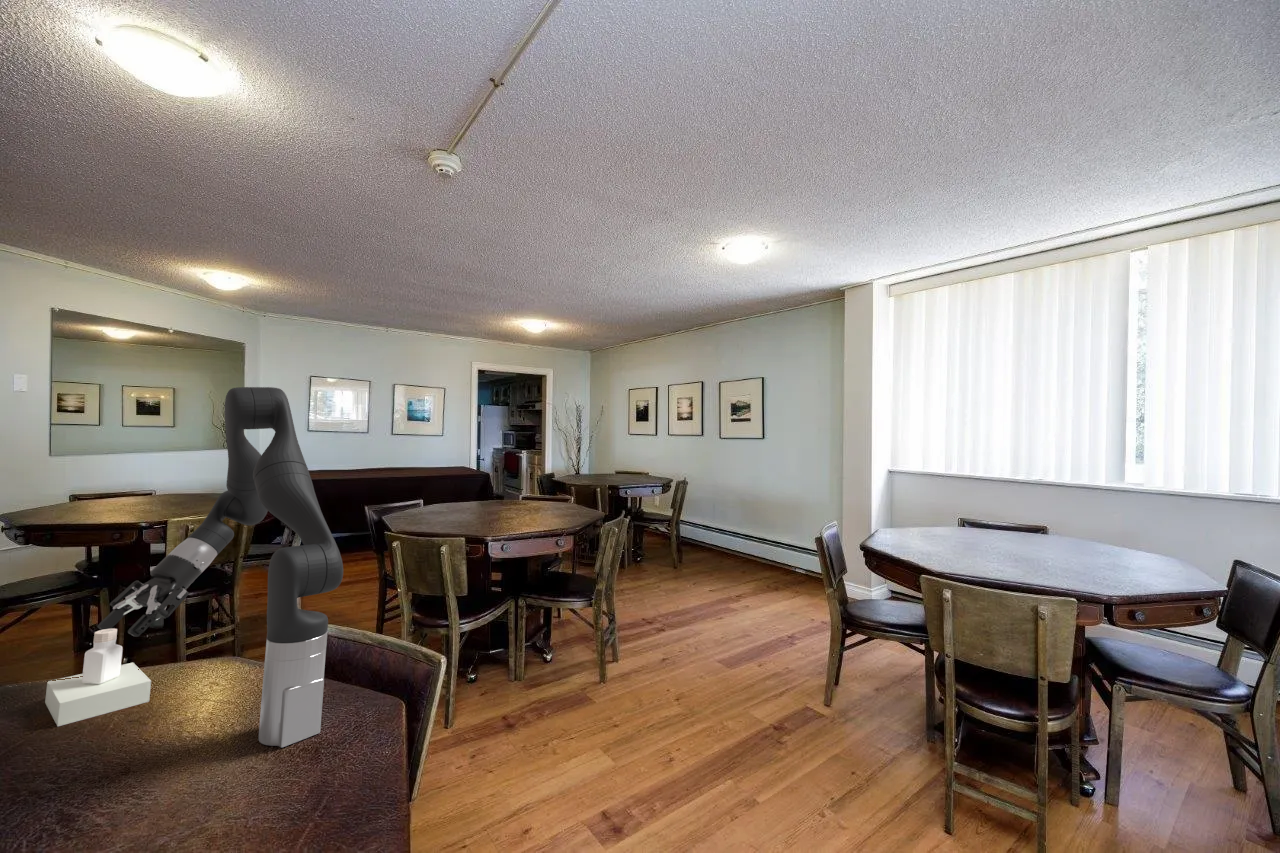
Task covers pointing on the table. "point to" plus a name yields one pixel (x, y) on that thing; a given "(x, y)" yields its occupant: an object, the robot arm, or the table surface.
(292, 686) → the robot arm
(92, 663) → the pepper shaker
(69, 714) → the platform
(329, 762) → the table surface
